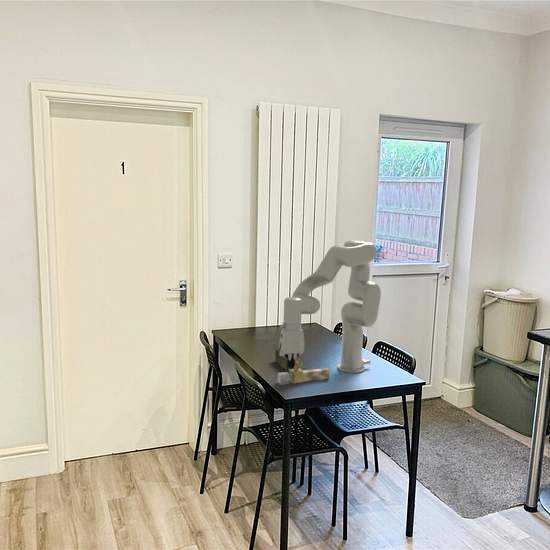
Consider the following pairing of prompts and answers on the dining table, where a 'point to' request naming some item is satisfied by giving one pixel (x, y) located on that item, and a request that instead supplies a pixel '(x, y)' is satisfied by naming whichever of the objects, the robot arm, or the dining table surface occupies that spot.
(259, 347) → the dining table surface
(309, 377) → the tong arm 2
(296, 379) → the lock collar
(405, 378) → the dining table surface
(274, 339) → the dining table surface
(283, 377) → the block
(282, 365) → the beverage carton
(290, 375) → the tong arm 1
